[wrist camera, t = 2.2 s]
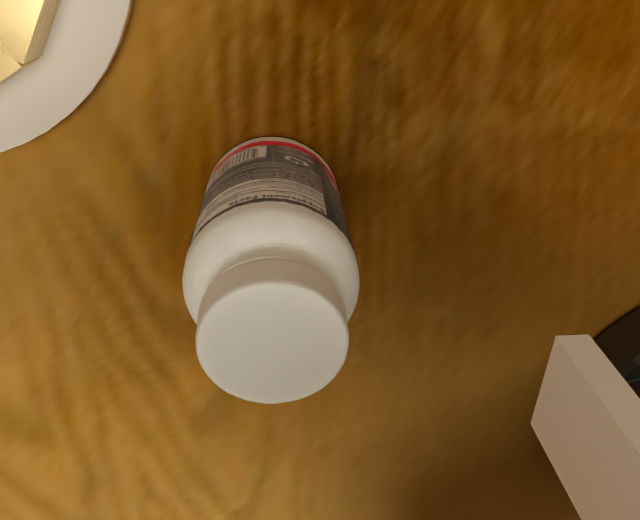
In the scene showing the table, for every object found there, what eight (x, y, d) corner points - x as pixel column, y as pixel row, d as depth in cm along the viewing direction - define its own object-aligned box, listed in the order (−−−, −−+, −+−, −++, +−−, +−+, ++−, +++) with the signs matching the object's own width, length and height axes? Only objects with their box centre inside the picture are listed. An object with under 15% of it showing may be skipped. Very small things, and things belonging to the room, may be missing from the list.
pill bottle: (333, 256, 24) (363, 424, 16) (209, 252, 24) (171, 425, 15) (344, 135, 21) (388, 260, 13) (204, 129, 21) (155, 254, 12)
